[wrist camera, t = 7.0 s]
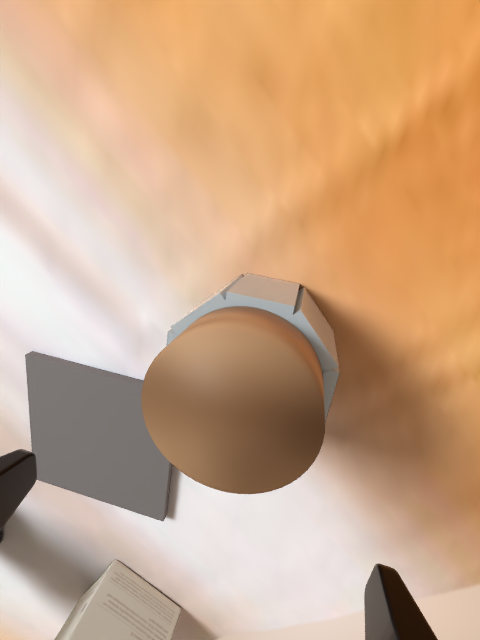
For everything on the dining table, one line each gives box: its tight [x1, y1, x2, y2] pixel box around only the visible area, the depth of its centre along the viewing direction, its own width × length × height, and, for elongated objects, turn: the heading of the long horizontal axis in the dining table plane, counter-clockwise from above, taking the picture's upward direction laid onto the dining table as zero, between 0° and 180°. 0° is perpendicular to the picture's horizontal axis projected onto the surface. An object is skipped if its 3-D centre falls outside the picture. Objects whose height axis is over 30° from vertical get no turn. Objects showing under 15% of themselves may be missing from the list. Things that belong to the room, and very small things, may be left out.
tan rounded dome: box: [141, 306, 325, 494], centre depth 14 cm, size 7×7×3 cm
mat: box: [25, 351, 172, 521], centre depth 24 cm, size 11×11×1 cm
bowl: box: [167, 273, 340, 421], centre depth 17 cm, size 8×8×4 cm
